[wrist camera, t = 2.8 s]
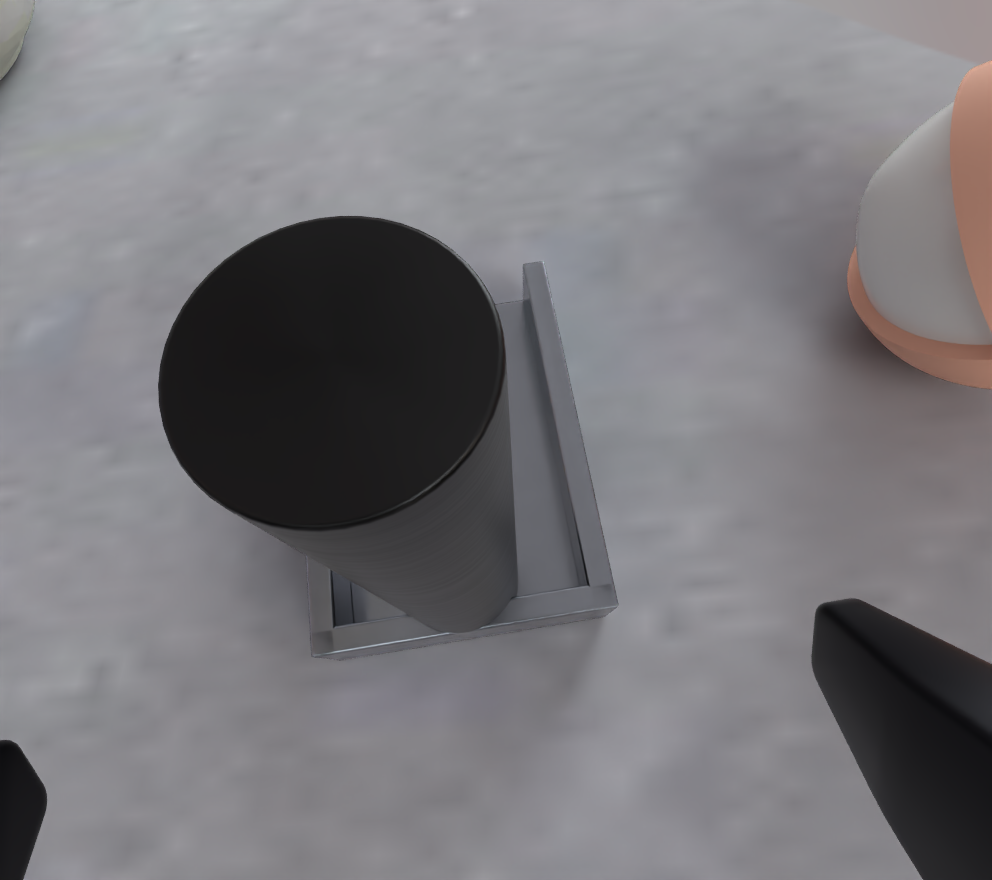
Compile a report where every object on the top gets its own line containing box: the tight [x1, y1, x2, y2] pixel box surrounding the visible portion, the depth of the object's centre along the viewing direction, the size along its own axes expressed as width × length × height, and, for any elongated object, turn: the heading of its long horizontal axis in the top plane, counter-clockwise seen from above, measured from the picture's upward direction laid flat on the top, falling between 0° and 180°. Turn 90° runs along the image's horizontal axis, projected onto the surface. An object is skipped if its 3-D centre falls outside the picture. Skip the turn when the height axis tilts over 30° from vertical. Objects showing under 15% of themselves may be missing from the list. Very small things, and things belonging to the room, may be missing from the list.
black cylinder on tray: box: [158, 216, 618, 661], centre depth 12 cm, size 9×7×13 cm
